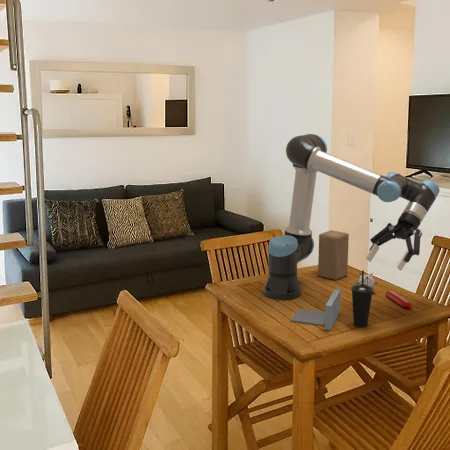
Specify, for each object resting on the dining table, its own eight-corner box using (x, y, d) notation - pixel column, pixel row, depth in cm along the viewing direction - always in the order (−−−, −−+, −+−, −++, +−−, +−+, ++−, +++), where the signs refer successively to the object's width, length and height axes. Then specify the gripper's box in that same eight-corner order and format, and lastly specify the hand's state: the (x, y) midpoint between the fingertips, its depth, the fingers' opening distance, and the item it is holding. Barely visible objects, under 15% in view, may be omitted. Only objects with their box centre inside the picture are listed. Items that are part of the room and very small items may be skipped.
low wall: (324, 329, 195) (325, 305, 193) (334, 311, 211) (335, 289, 209) (330, 330, 194) (331, 306, 192) (339, 312, 211) (340, 289, 209)
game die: (367, 299, 234) (380, 279, 235) (370, 299, 226) (383, 278, 226) (349, 287, 236) (361, 267, 236) (351, 287, 227) (364, 266, 228)
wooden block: (348, 275, 254) (349, 232, 249) (336, 281, 247) (337, 237, 242) (329, 271, 260) (330, 229, 256) (317, 276, 253) (318, 233, 249)
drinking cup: (367, 330, 194) (370, 275, 190) (346, 325, 198) (348, 271, 194) (374, 322, 200) (377, 269, 196) (353, 318, 204) (356, 266, 200)
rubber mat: (290, 321, 202) (290, 320, 202) (298, 310, 213) (298, 308, 213) (323, 326, 198) (323, 324, 198) (330, 314, 209) (330, 312, 209)
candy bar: (413, 309, 213) (413, 302, 213) (404, 310, 212) (405, 303, 212) (392, 295, 228) (392, 288, 228) (384, 296, 228) (384, 289, 227)
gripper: (445, 229, 198) (417, 278, 193) (388, 218, 218) (360, 262, 212) (438, 216, 194) (408, 266, 188) (380, 206, 213) (351, 250, 208)
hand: (383, 264), depth 200 cm, fingers open, 13 cm apart
